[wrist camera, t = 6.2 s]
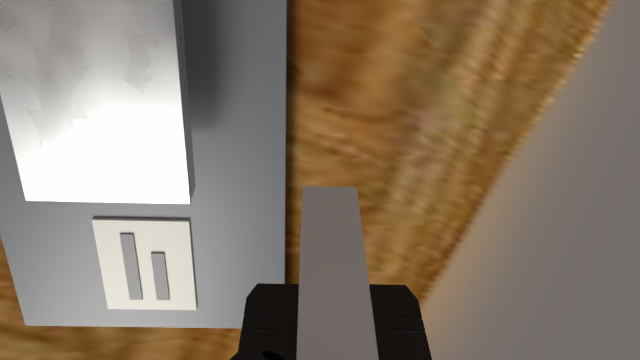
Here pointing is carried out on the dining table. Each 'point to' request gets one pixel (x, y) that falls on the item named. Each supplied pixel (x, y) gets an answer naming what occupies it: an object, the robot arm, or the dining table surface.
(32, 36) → the light grey rectangular slab
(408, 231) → the dining table surface
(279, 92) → the label board
